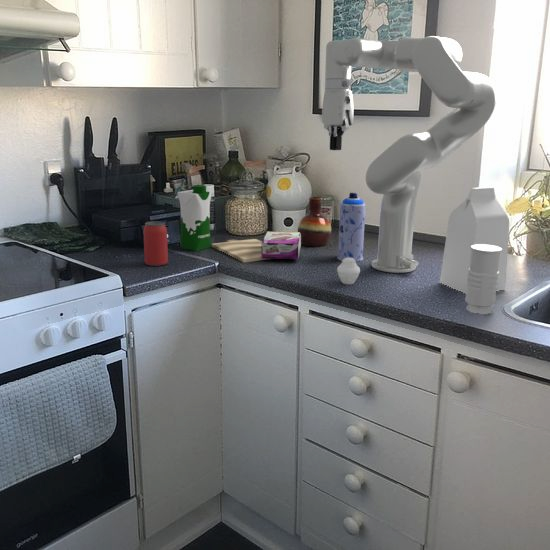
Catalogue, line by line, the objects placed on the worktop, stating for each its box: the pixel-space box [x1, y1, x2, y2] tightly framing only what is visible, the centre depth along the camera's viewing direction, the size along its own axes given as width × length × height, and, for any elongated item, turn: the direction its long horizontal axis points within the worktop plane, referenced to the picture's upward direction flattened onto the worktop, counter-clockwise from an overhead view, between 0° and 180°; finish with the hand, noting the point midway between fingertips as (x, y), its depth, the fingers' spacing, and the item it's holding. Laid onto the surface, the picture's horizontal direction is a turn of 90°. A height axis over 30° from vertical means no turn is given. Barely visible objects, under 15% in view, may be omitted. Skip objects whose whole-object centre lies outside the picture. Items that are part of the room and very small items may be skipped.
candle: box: [464, 244, 502, 315], centre depth 143 cm, size 7×7×15 cm
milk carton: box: [177, 184, 213, 252], centre depth 196 cm, size 9×9×20 cm
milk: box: [439, 186, 510, 295], centre depth 159 cm, size 12×12×26 cm
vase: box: [297, 196, 332, 247], centre depth 204 cm, size 11×11×15 cm
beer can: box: [142, 220, 169, 267], centre depth 178 cm, size 7×7×12 cm
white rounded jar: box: [336, 258, 361, 285], centre depth 163 cm, size 6×6×7 cm
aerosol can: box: [336, 192, 366, 263], centre depth 186 cm, size 8×8×20 cm
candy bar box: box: [261, 230, 302, 260], centre depth 190 cm, size 11×5×16 cm
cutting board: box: [211, 238, 272, 263], centre depth 196 cm, size 24×16×1 cm, turn 31°
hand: (335, 149), depth 186 cm, fingers closed
